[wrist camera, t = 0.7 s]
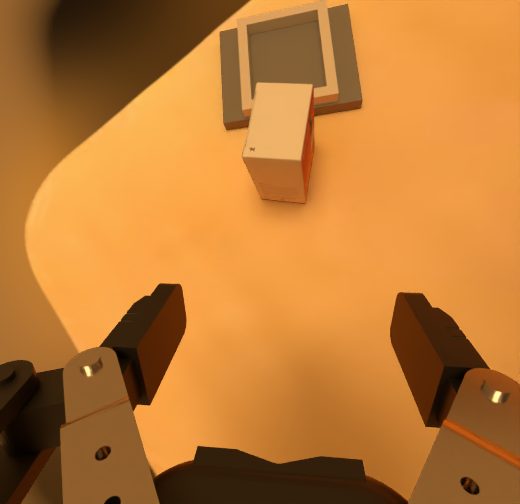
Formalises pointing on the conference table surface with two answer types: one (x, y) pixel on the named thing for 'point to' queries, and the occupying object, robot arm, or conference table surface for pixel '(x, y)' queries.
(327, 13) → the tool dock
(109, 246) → the conference table surface
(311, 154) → the small box
